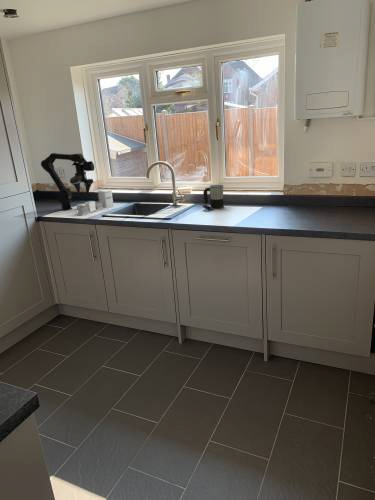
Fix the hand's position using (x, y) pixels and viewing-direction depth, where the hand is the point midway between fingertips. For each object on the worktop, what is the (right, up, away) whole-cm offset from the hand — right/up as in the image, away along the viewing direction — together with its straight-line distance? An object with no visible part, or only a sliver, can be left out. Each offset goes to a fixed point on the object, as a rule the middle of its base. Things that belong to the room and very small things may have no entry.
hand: (83, 192), depth 293 cm
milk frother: (+94, -14, -26) cm, 98 cm away
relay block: (-3, -11, +5) cm, 13 cm away
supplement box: (+17, -10, +4) cm, 20 cm away
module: (+8, -14, -9) cm, 18 cm away
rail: (+8, -15, -9) cm, 19 cm away
